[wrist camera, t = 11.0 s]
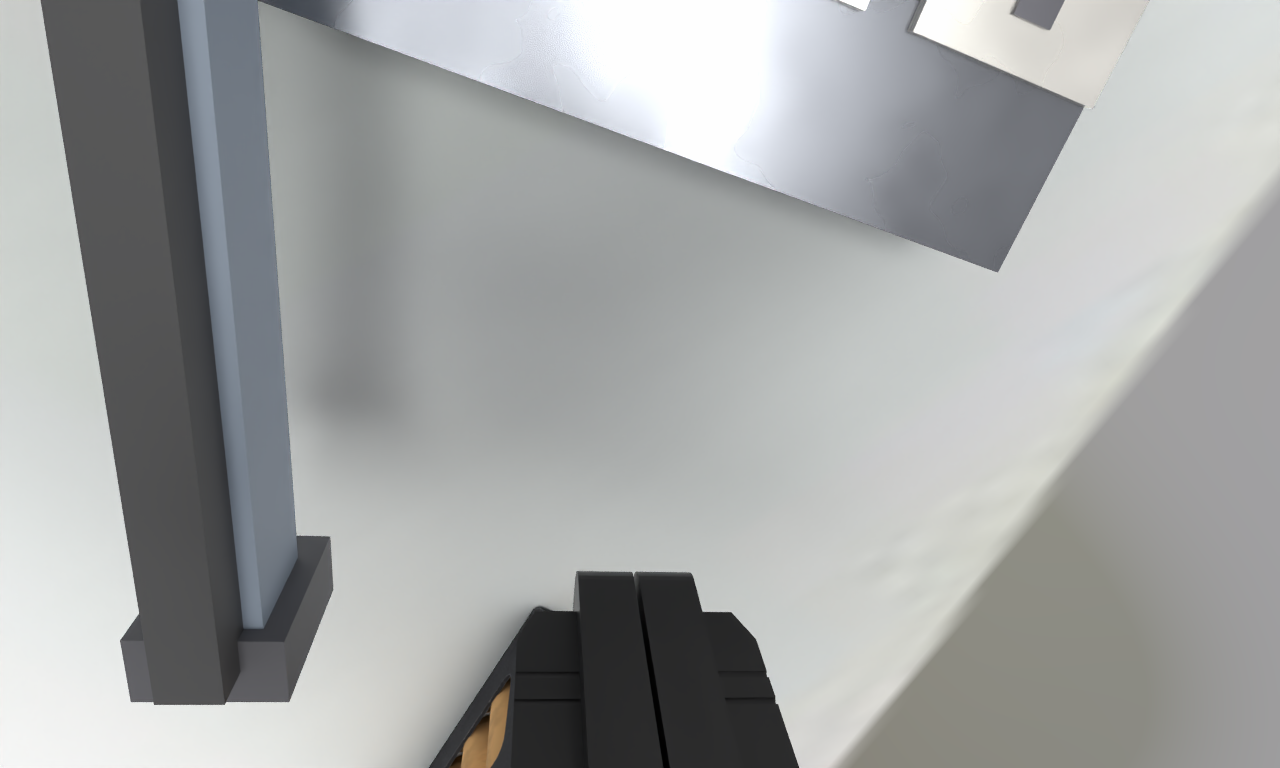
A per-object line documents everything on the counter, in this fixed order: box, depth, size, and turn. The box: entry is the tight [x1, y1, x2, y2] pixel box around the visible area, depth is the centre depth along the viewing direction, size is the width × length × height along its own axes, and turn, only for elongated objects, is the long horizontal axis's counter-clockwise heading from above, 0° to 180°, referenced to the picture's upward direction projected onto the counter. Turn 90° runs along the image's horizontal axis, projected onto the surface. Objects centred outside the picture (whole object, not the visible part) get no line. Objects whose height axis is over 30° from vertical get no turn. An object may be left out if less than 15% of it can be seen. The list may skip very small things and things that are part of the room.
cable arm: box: [41, 0, 333, 705], centre depth 12 cm, size 2×15×4 cm, turn 175°
